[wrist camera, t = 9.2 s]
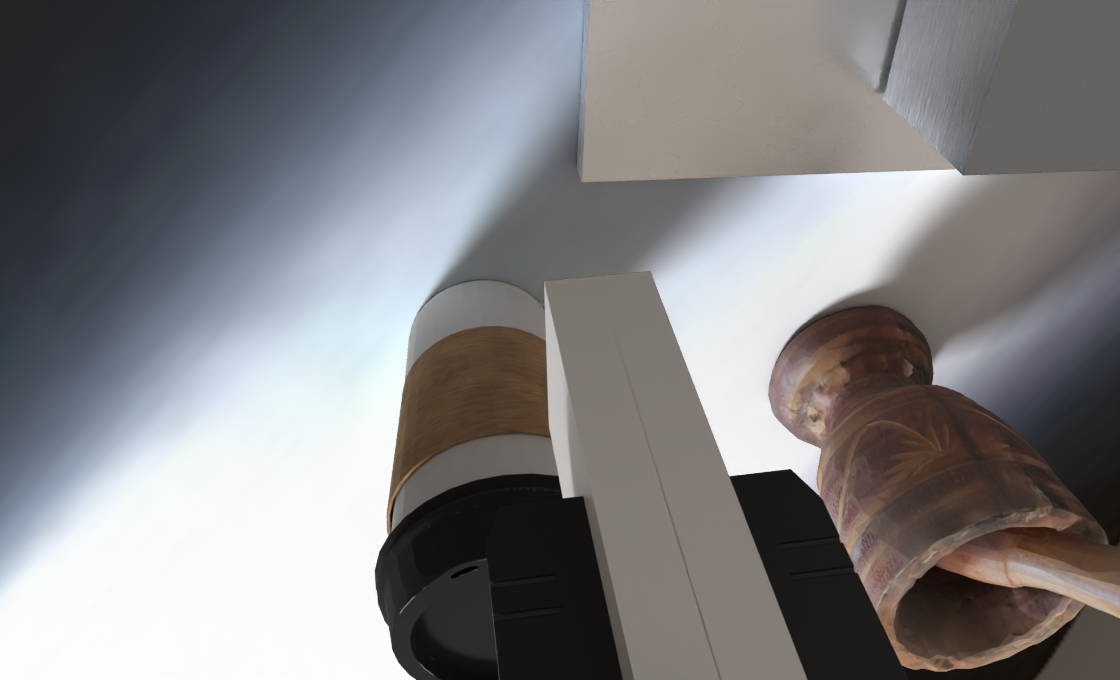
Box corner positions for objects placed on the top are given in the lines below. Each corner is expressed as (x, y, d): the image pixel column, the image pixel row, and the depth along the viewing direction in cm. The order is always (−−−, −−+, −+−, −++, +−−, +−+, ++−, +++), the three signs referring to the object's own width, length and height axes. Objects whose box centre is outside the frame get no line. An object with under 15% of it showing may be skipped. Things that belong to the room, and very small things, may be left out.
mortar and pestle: (863, 205, 39) (1194, 606, 23) (1022, 264, 42) (1414, 655, 26) (723, 416, 44) (911, 854, 28) (872, 454, 47) (1117, 870, 31)
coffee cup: (530, 217, 37) (598, 499, 25) (610, 368, 42) (700, 663, 30) (337, 306, 38) (315, 616, 26) (438, 443, 43) (458, 756, 31)
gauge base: (594, -199, 29) (636, -164, 24) (1304, -186, 32) (1471, -153, 27) (576, 167, 36) (606, 253, 31) (1160, 148, 39) (1272, 222, 34)
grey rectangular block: (945, -160, 29) (1053, -119, 25) (1124, -157, 30) (1262, -118, 25) (883, 99, 34) (963, 175, 30) (1038, 95, 35) (1140, 168, 30)
